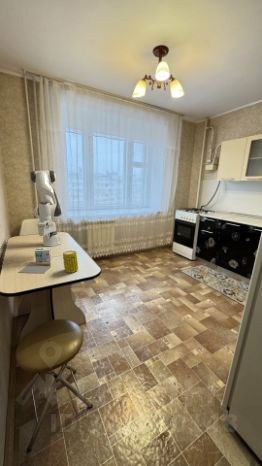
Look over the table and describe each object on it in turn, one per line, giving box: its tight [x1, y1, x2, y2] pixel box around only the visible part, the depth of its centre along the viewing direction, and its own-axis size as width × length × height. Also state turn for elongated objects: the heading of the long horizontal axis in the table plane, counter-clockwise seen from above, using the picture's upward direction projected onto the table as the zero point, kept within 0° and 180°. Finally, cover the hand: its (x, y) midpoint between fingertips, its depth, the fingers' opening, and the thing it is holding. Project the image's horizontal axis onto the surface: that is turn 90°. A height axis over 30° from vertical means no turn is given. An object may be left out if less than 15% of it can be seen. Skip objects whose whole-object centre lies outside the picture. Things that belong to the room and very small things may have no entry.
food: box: [62, 250, 79, 274], centre depth 138 cm, size 15×12×10 cm
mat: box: [17, 264, 52, 274], centre depth 140 cm, size 12×18×1 cm, turn 90°
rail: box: [28, 261, 52, 267], centre depth 146 cm, size 2×16×2 cm, turn 89°
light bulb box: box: [34, 247, 52, 263], centre depth 152 cm, size 11×7×11 cm, turn 105°
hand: (47, 238), depth 159 cm, fingers closed
